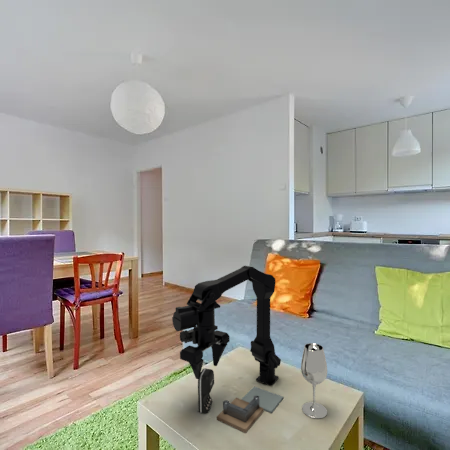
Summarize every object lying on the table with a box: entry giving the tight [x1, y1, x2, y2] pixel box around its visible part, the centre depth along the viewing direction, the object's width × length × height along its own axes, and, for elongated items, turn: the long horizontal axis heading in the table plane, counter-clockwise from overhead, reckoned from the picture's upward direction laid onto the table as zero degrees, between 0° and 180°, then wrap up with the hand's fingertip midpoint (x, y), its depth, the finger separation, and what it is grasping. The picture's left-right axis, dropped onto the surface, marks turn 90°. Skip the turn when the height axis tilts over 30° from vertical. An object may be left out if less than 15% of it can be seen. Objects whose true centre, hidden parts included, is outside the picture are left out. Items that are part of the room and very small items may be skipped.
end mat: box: [240, 386, 284, 414], centre depth 97 cm, size 9×11×1 cm
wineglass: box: [300, 342, 328, 419], centre depth 91 cm, size 8×8×20 cm
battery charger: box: [197, 368, 215, 414], centre depth 93 cm, size 7×4×11 cm, turn 167°
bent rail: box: [222, 396, 260, 423], centre depth 90 cm, size 9×8×3 cm
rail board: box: [216, 397, 265, 434], centre depth 89 cm, size 11×10×1 cm
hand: (206, 372), depth 93 cm, fingers open, 9 cm apart
